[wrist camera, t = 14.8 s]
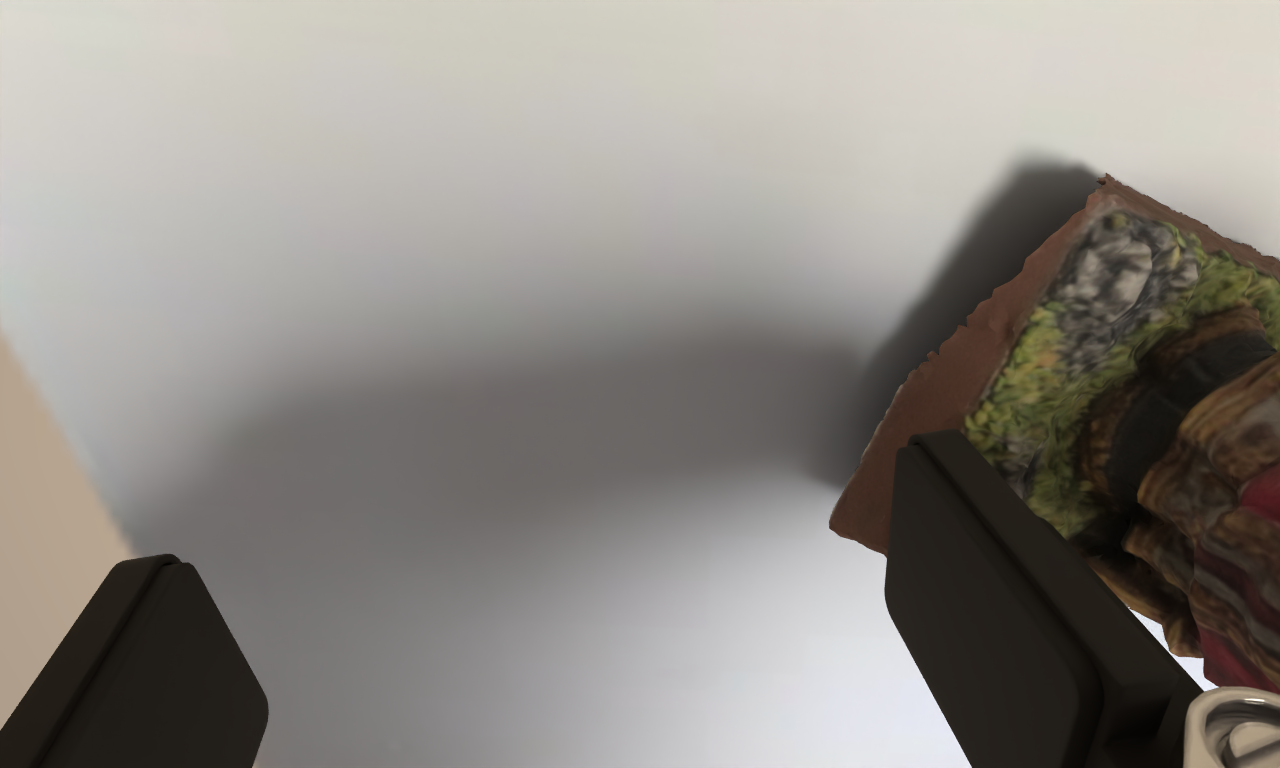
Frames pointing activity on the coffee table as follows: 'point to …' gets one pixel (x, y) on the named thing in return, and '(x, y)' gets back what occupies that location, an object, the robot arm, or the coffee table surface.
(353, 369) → the coffee table surface
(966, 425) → the figurine
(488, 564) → the coffee table surface
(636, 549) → the coffee table surface
